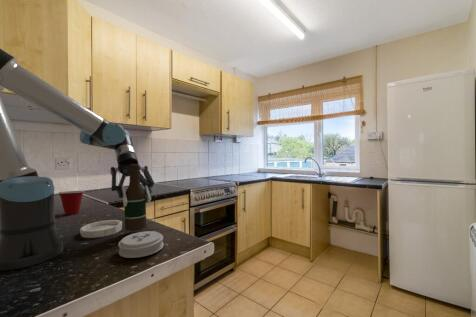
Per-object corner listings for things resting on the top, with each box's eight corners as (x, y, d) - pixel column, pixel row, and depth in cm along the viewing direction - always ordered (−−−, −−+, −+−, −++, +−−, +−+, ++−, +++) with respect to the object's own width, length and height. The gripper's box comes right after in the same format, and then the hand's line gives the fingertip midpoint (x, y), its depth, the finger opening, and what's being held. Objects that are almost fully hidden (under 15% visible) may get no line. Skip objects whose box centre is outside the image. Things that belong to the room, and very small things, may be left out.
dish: (106, 238, 79) (106, 231, 79) (71, 237, 80) (71, 231, 80) (129, 226, 92) (128, 220, 92) (98, 225, 93) (98, 219, 93)
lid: (130, 265, 59) (129, 247, 59) (111, 253, 67) (111, 236, 67) (171, 249, 69) (171, 233, 69) (150, 240, 77) (150, 225, 77)
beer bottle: (150, 227, 83) (149, 164, 83) (129, 232, 78) (127, 165, 77) (141, 223, 89) (140, 163, 88) (121, 228, 83) (119, 164, 83)
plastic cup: (90, 211, 120) (89, 189, 120) (73, 216, 109) (72, 192, 109) (71, 210, 121) (71, 189, 121) (53, 216, 110) (52, 192, 110)
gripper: (149, 163, 101) (163, 204, 88) (97, 165, 88) (104, 213, 76) (153, 151, 97) (168, 193, 84) (99, 151, 84) (106, 200, 72)
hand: (138, 202), depth 80 cm, fingers closed on beer bottle, 7 cm apart
